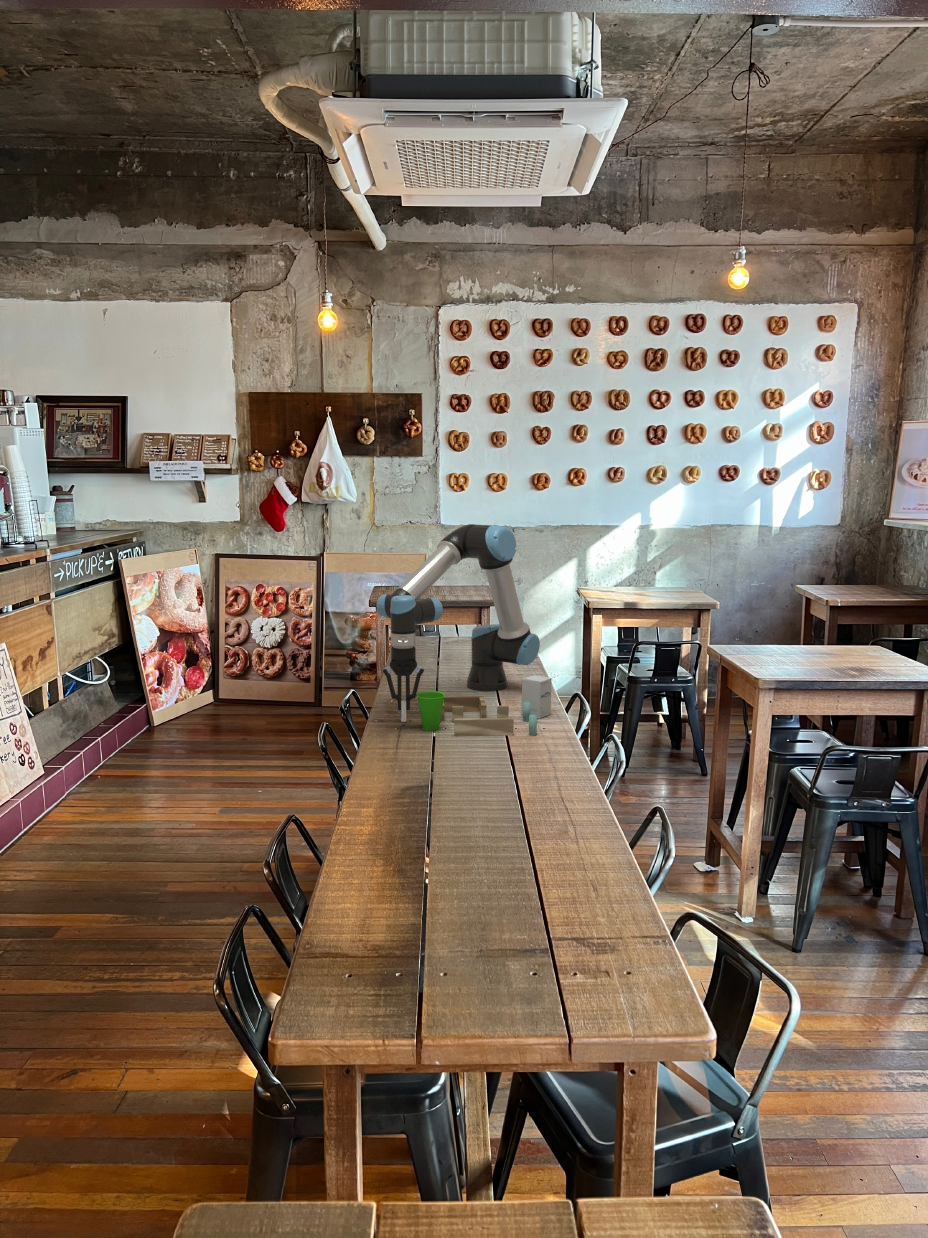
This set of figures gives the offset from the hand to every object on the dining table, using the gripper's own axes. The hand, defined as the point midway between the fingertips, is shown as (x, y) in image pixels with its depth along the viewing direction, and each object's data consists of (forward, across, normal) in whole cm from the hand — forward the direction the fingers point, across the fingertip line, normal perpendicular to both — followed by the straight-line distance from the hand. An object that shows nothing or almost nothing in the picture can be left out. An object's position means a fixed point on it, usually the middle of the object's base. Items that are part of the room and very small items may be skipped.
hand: (403, 720), depth 271 cm
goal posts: (+3, +39, 0) cm, 39 cm away
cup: (+3, +8, 0) cm, 9 cm away
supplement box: (+3, +43, +14) cm, 46 cm away
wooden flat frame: (+3, +22, +6) cm, 23 cm away
